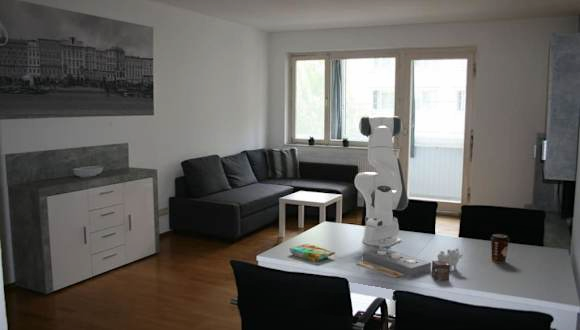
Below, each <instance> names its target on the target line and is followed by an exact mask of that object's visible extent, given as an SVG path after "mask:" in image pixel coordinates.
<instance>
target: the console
mask: <svg viewBox="0 0 580 330" xmlns="http://www.w3.org/2000/svg"><path fill="white" fill-rule="evenodd" d="M377 251H385V252H386V254H384V255H381V254H378V253H377ZM391 253H399V254H401V258H400V259H393V258H391ZM406 260H414V261H416V263H415V264H409V263H406ZM362 261H368V262H371V263H373V264H376V265H379V266H382V267H385V268H388V269H391V270H394V271H396V272H399V273H402V274H404V276H407V277H409V278H410V277H411V278H412V277H415V276H418V275H422V274H425V273H429V272H432V261H431V262H430V261H427V260H425V259H421V258H418V257H414V256H410V255H408V254H404V253H401V252H398V251H394V250H391V249H389V248H386V247H383V248H380V247H379V248H376V249H372V250H365V251H362Z"/></svg>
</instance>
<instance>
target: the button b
mask: <svg viewBox="0 0 580 330" xmlns="http://www.w3.org/2000/svg"><path fill="white" fill-rule="evenodd" d="M399 253H400V252H398V253H391V258H393V259H400V258H401V254H399Z"/></svg>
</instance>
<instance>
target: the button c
mask: <svg viewBox="0 0 580 330" xmlns="http://www.w3.org/2000/svg"><path fill="white" fill-rule="evenodd" d="M406 263H409V264H415V263H416V261H414V260H406Z"/></svg>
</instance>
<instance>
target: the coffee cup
mask: <svg viewBox="0 0 580 330" xmlns="http://www.w3.org/2000/svg"><path fill="white" fill-rule="evenodd" d="M510 241H511V240H510V238H509V237H508V235H506V234H503V233H502V234H501V233H494V234H492V235H491V237H490V246H491V262H493V263H498V264H504V263H506V261H507V260H506V259H507V255H508V249H509V248H508V247H509V242H510Z"/></svg>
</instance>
